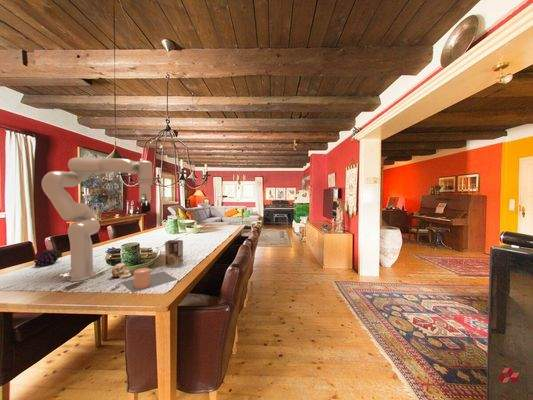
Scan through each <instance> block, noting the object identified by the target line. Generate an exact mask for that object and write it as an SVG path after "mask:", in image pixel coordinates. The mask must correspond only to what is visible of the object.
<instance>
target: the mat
mask: <svg viewBox="0 0 533 400" xmlns="http://www.w3.org/2000/svg"><path fill="white" fill-rule="evenodd" d="M175 281H178V278H176V277H174V276H172V275H171V274H169V273H167V272H165V271H160V272H159V271H158V272H156V273H151V285H150V286H149V287H147V288H143V289H135V288H134V278H132V279H128V280H124V281H122V282H121V281H120V283H121V285H123V286H124V287H125V288H127V290H129V292H131V293H132V294H135V293H137V292H140V291H145V290H147V289H151V288H154V287H158V286H162V285H165V284H168V283H172V282H175Z"/></svg>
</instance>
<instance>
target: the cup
mask: <svg viewBox="0 0 533 400" xmlns="http://www.w3.org/2000/svg"><path fill="white" fill-rule="evenodd" d="M151 271H152V270H151V269H150V267H142V268H138V269H135V270H134V272H133V273H134V275H133V279H134V288H135V289H143V288H147V287H149V286H150V285H151V274H152V273H151Z"/></svg>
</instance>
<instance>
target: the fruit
mask: <svg viewBox="0 0 533 400" xmlns="http://www.w3.org/2000/svg"><path fill="white" fill-rule="evenodd" d="M42 251H43V252H40V253H39V256H37V257H36V259H35V260H34V261H33V262H34V267H39V268H41V267H42V266H48V265H49V264H50V265H55V263H56V262H57V261H59V259H60V258H63V252H60V251H58V249H55V248H54V249H53V248H52V249H46V250H45V249H43V250H42Z"/></svg>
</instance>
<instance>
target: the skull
mask: <svg viewBox="0 0 533 400" xmlns="http://www.w3.org/2000/svg"><path fill="white" fill-rule="evenodd" d="M110 271H111V275H112V277H109V278H108V280H109V281H114V280H118V279H120V280H125V279H128V278H130V277H134V272H131V271H130V269H129V266H127V264H125V263H123V262H121V263H117V264H115V265H114V266H113V267H112V269H111V270H110Z"/></svg>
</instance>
